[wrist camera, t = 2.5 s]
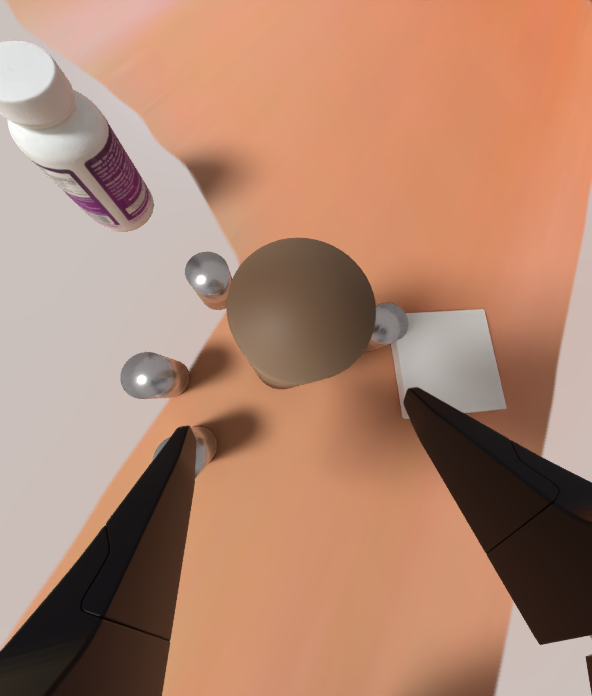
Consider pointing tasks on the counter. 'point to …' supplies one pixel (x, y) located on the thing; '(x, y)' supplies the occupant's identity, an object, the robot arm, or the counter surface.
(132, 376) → the spacer posts
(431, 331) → the rubber mat
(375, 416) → the counter surface
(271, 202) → the counter surface
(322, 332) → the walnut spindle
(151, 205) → the pill bottle
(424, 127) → the counter surface
